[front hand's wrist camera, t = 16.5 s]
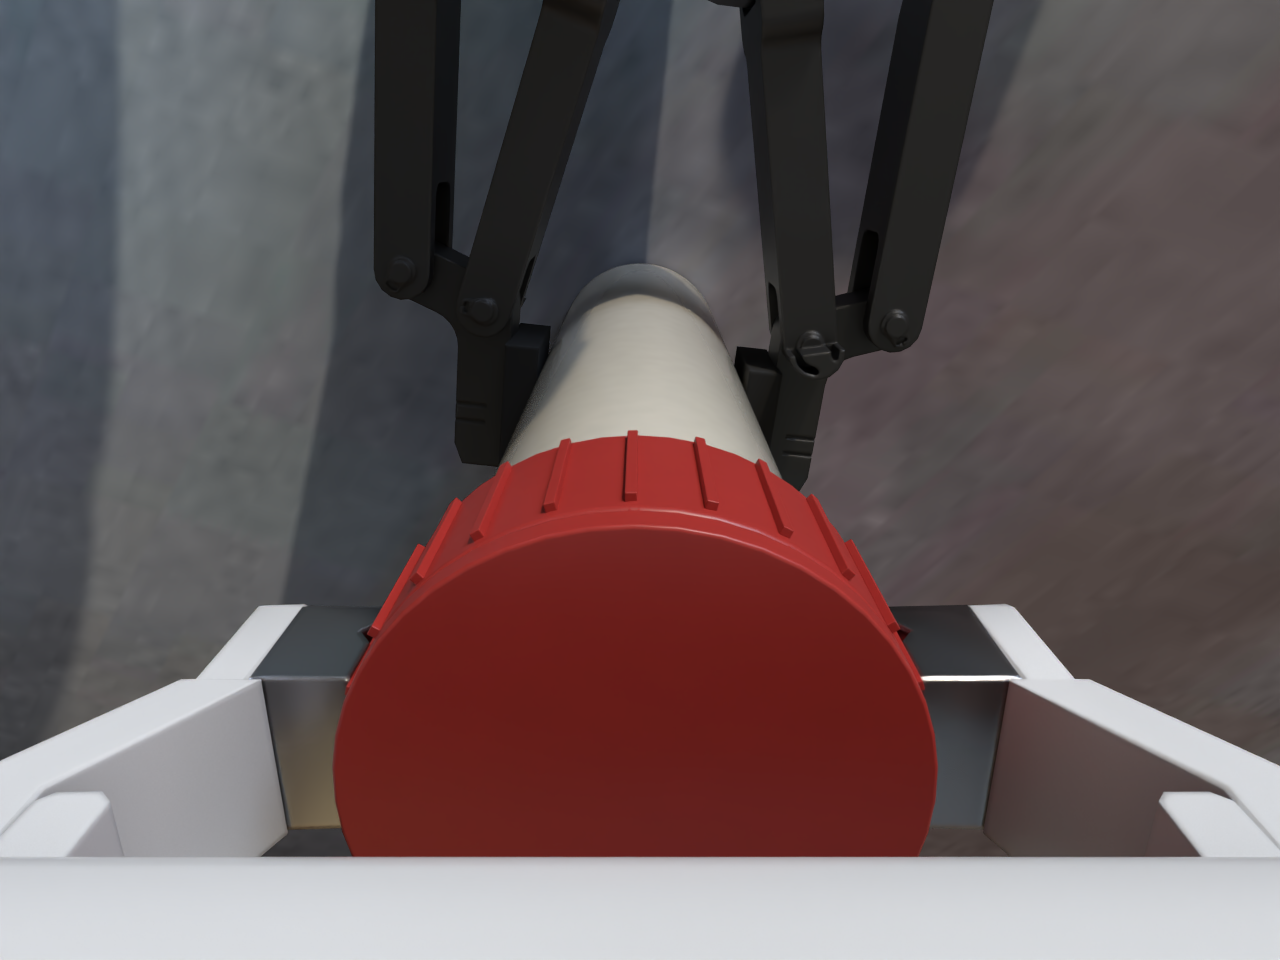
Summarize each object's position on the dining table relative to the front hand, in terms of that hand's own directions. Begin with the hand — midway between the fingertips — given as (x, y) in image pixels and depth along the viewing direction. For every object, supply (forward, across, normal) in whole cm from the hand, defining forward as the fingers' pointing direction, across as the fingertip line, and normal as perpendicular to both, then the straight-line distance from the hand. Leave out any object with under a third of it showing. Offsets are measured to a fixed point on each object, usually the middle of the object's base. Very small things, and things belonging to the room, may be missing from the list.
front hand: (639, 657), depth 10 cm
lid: (-2, 0, 0) cm, 2 cm away
